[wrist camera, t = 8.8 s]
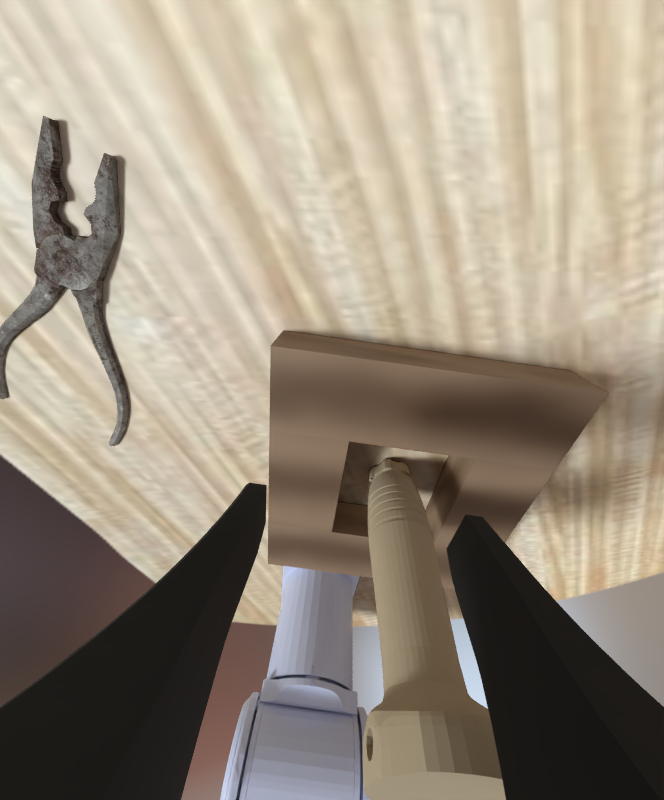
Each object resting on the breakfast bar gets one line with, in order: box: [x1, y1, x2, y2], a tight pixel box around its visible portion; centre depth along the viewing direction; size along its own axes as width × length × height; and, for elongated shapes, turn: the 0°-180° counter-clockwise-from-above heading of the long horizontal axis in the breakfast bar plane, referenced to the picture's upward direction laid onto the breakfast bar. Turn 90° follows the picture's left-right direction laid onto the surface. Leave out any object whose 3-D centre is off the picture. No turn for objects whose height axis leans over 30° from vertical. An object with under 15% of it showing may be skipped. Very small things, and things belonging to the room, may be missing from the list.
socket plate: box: [268, 331, 608, 589], centre depth 21 cm, size 20×18×3 cm
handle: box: [362, 459, 506, 800], centre depth 16 cm, size 5×6×15 cm
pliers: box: [0, 116, 129, 446], centre depth 18 cm, size 10×1×20 cm
